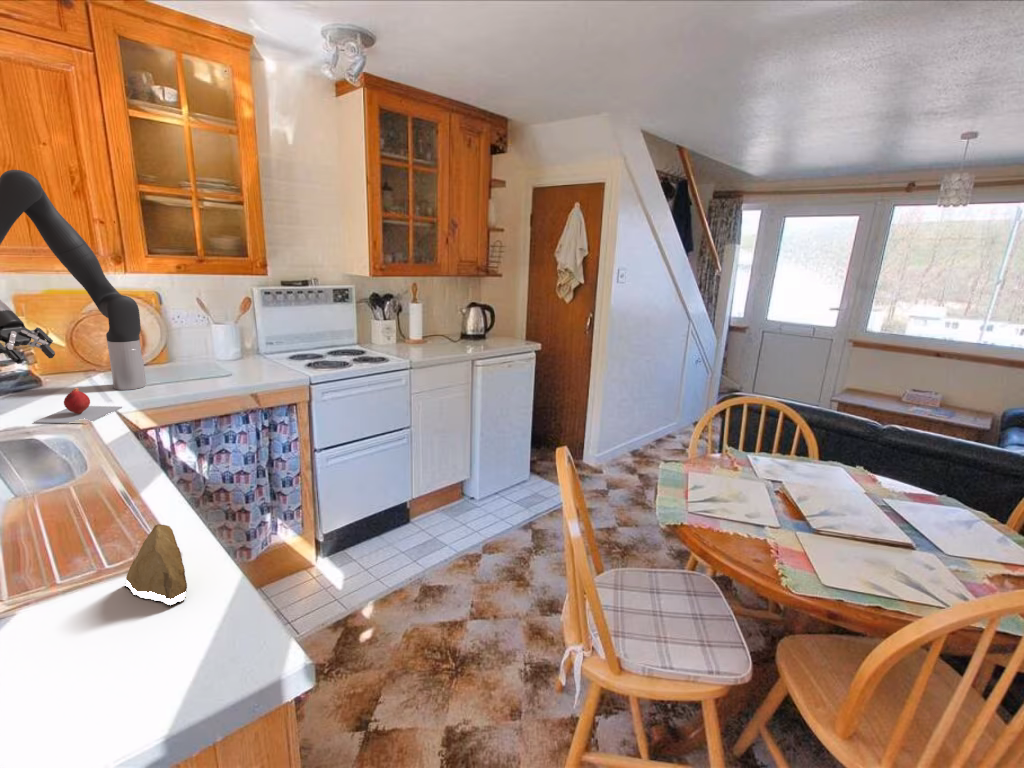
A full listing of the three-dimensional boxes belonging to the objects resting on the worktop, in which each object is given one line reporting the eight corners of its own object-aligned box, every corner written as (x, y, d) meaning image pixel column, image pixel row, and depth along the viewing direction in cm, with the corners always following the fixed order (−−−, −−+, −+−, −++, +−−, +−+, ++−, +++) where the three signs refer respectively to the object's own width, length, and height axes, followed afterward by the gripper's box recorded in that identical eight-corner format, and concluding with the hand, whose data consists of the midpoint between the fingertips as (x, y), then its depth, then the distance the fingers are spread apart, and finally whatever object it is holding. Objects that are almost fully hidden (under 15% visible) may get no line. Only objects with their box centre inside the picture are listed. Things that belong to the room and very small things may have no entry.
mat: (73, 406, 156) (73, 405, 156) (122, 407, 158) (122, 406, 158) (32, 423, 141) (32, 422, 141) (86, 424, 143) (86, 422, 142)
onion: (76, 417, 146) (72, 391, 144) (61, 415, 147) (56, 389, 145) (96, 412, 151) (92, 387, 150) (81, 410, 152) (77, 385, 151)
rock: (207, 585, 75) (203, 545, 83) (160, 559, 70) (161, 519, 78) (142, 639, 73) (144, 592, 80) (89, 615, 68) (96, 568, 75)
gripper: (-26, 311, 138) (16, 355, 139) (30, 307, 152) (68, 347, 153) (-37, 329, 141) (4, 372, 142) (19, 323, 154) (56, 362, 155)
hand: (37, 359), depth 147 cm, fingers open, 8 cm apart
